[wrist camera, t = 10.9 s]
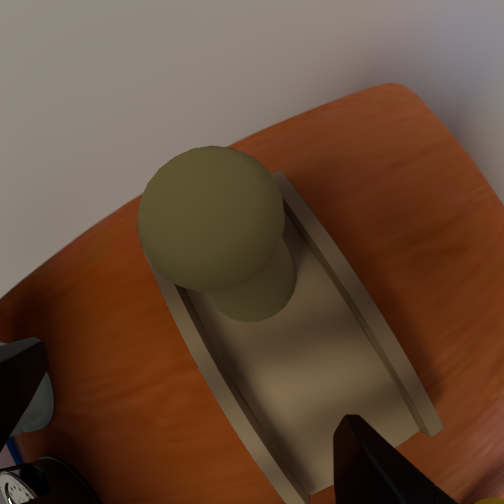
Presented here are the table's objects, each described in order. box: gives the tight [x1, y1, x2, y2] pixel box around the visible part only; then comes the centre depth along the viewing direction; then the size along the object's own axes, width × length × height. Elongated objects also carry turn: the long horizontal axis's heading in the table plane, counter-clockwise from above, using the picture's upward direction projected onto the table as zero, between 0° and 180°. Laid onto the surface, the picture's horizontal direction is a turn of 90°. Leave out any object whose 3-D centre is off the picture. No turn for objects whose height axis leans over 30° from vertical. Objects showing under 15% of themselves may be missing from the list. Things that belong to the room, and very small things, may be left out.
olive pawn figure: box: [137, 146, 297, 322], centre depth 14 cm, size 6×6×11 cm
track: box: [144, 170, 444, 504], centre depth 17 cm, size 20×10×3 cm, turn 30°
